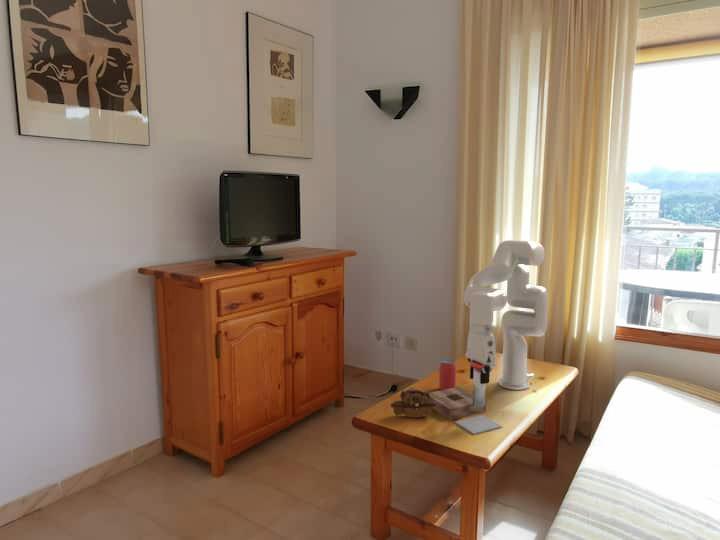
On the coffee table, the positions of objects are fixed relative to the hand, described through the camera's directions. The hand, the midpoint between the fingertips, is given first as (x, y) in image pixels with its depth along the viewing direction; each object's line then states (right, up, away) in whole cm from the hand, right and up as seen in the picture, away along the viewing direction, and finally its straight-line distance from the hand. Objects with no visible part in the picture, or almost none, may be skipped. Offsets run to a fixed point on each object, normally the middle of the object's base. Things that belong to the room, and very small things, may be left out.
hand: (479, 380), depth 175 cm
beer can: (-5, -12, +35) cm, 38 cm away
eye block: (-5, -14, +18) cm, 23 cm away
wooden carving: (-21, -15, +10) cm, 28 cm away
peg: (0, -9, +1) cm, 9 cm away
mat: (0, -16, +2) cm, 16 cm away
